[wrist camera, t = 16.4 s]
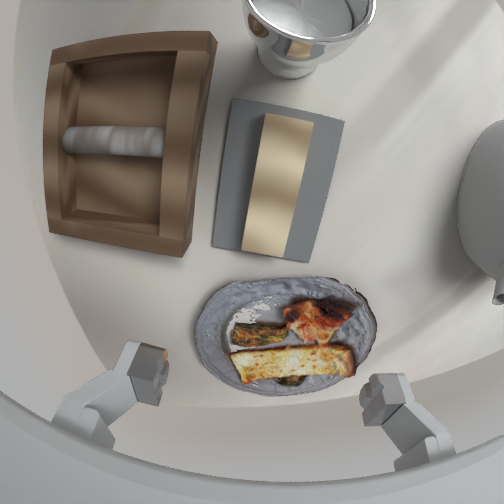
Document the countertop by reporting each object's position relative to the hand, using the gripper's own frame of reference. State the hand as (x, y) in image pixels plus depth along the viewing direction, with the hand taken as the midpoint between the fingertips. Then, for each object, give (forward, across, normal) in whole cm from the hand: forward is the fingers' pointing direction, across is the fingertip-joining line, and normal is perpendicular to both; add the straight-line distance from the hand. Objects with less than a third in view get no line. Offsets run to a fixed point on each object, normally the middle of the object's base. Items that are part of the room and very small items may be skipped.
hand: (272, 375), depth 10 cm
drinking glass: (+22, +1, -16) cm, 27 cm away
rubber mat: (+21, 0, -2) cm, 21 cm away
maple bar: (+20, 0, -2) cm, 20 cm away
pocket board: (+22, +17, -4) cm, 28 cm away
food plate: (+22, -6, +20) cm, 30 cm away
